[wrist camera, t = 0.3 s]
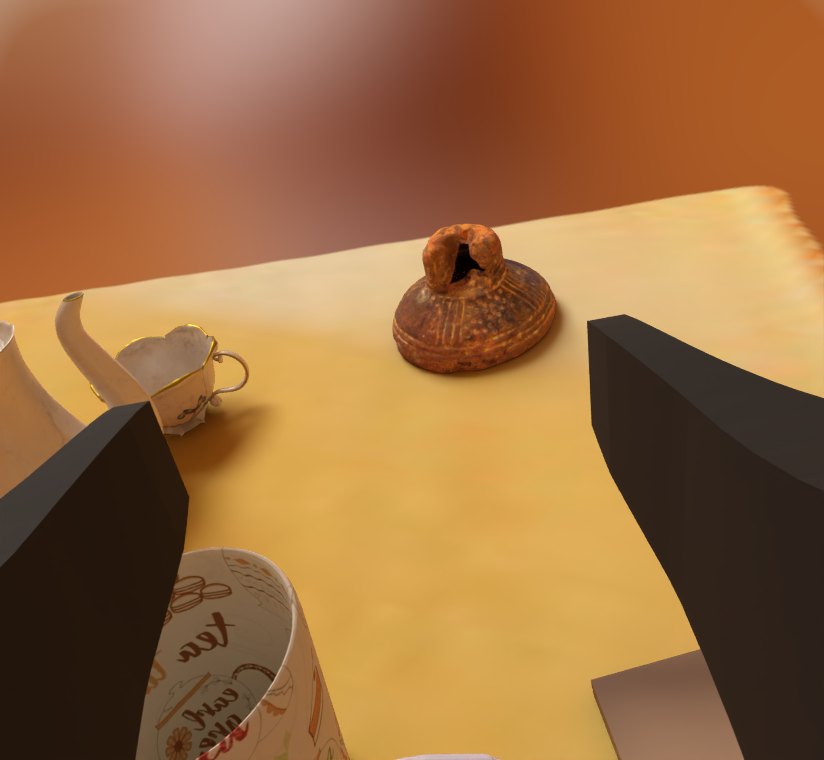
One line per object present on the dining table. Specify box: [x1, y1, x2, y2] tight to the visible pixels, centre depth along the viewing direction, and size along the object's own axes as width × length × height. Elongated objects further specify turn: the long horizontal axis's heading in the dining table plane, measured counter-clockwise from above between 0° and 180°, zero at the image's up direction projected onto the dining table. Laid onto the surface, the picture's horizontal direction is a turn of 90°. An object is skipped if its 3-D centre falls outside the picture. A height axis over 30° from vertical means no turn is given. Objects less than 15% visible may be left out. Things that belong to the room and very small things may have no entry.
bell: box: [393, 224, 556, 373], centre depth 51 cm, size 12×12×7 cm
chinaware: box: [0, 292, 249, 498], centre depth 43 cm, size 28×17×17 cm, turn 128°
